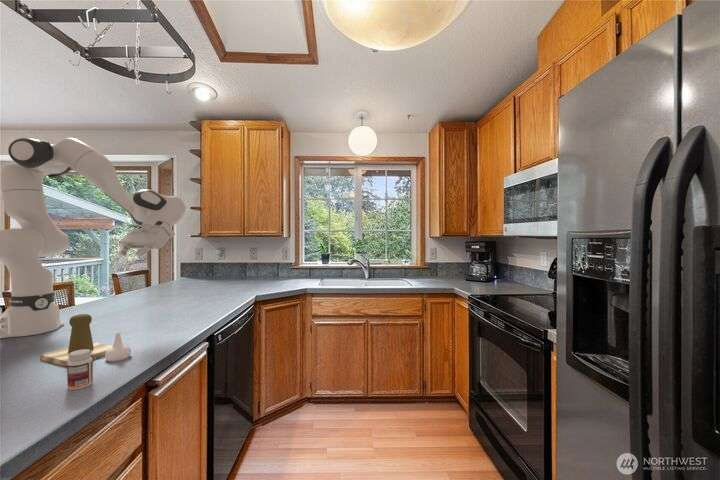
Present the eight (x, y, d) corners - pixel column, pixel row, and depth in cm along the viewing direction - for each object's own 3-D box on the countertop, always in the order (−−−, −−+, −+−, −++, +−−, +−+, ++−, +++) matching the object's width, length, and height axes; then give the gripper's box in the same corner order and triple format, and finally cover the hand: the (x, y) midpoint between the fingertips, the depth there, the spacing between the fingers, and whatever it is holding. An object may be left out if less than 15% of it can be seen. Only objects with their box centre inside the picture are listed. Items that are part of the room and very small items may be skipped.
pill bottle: (77, 381, 82) (76, 348, 82) (97, 381, 83) (97, 348, 83) (61, 390, 78) (61, 355, 78) (83, 390, 78) (82, 355, 78)
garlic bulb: (109, 357, 100) (106, 332, 99) (134, 353, 102) (130, 328, 102) (102, 365, 94) (99, 338, 94) (128, 360, 97) (125, 333, 96)
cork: (78, 355, 96) (77, 317, 96) (62, 353, 98) (62, 316, 98) (98, 348, 102) (98, 313, 102) (83, 346, 104) (83, 311, 104)
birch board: (40, 359, 97) (40, 354, 97) (90, 345, 109) (90, 341, 109) (68, 367, 91) (68, 361, 91) (118, 351, 103) (117, 346, 103)
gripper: (131, 223, 131) (104, 248, 122) (167, 222, 123) (142, 249, 114) (142, 234, 135) (117, 259, 126) (178, 234, 127) (154, 261, 118)
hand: (129, 255), depth 120 cm, fingers open, 8 cm apart
